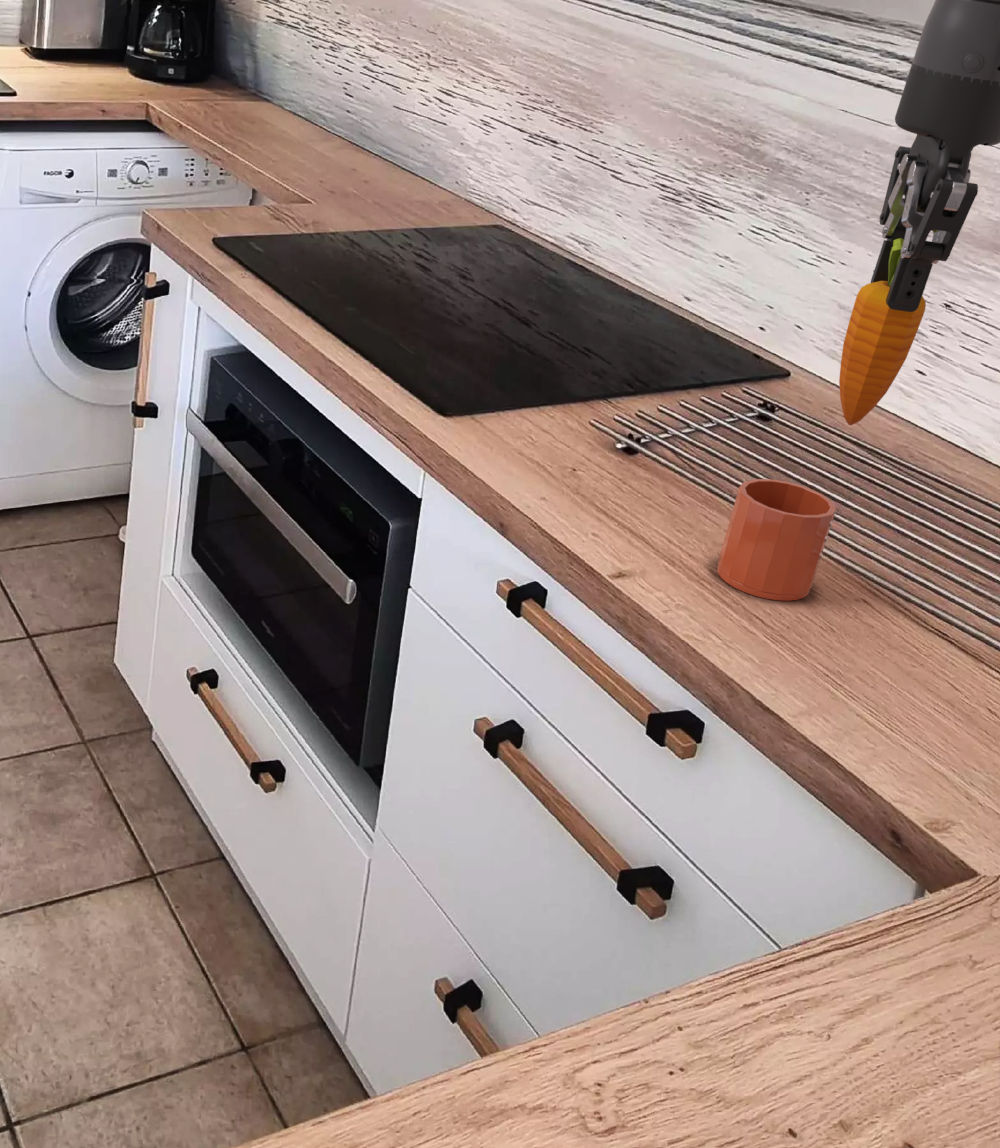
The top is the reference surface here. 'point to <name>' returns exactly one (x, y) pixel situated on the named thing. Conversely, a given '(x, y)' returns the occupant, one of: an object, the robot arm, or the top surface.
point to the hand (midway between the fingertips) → (892, 298)
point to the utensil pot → (775, 539)
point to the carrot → (875, 344)
